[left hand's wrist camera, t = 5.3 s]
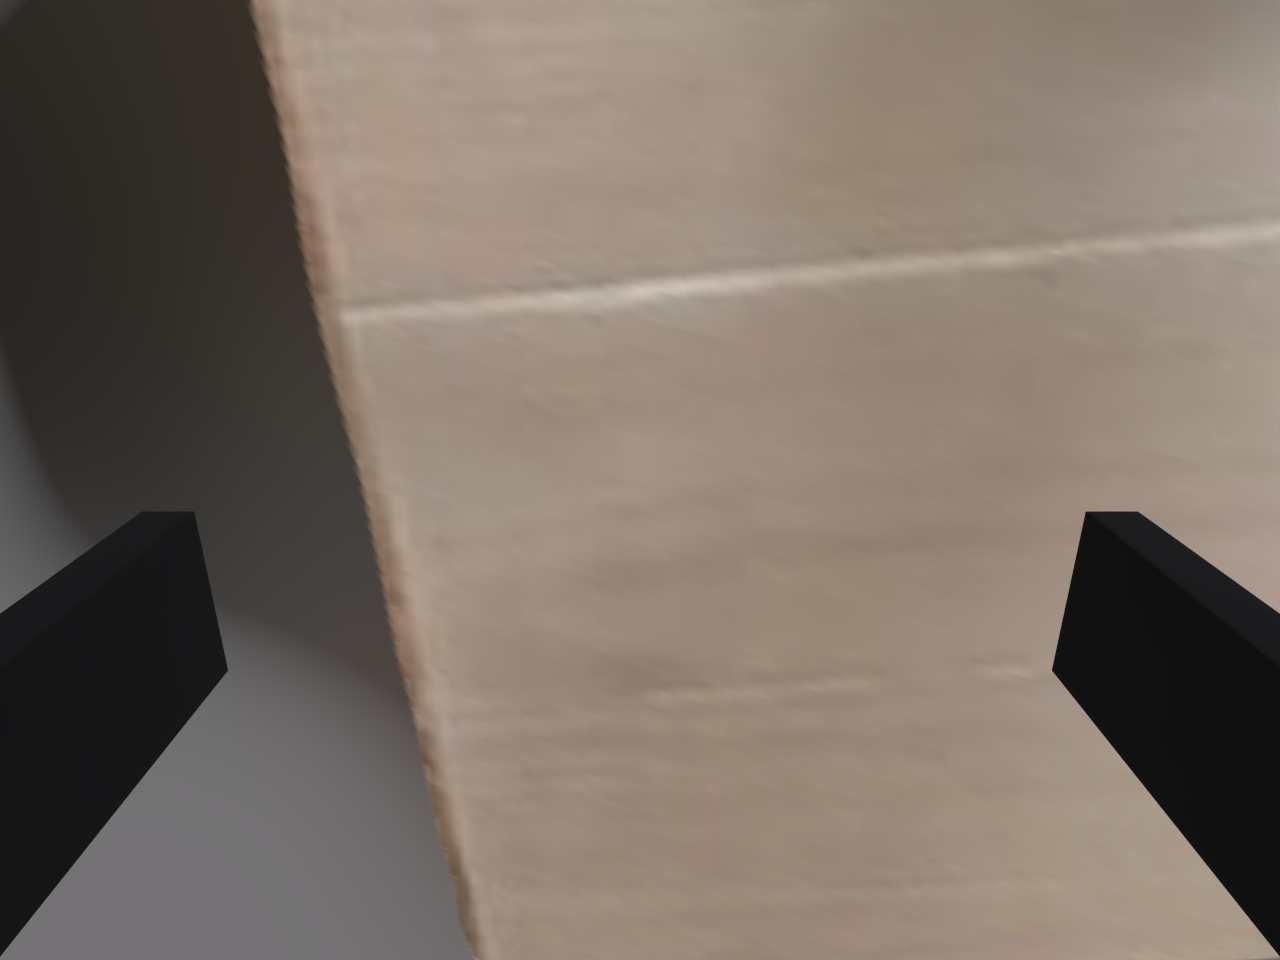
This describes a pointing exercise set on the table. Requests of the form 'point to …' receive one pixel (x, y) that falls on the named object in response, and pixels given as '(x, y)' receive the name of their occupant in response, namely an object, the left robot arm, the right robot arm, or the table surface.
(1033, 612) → the table surface
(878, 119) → the table surface
